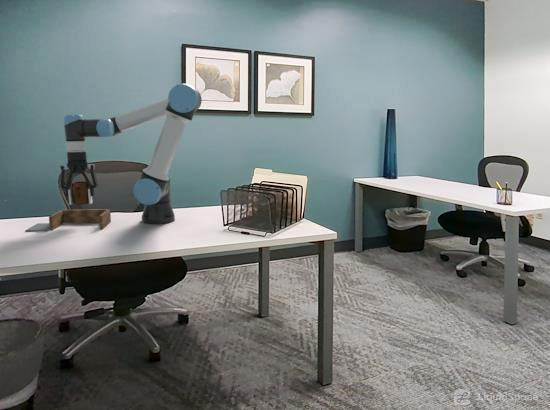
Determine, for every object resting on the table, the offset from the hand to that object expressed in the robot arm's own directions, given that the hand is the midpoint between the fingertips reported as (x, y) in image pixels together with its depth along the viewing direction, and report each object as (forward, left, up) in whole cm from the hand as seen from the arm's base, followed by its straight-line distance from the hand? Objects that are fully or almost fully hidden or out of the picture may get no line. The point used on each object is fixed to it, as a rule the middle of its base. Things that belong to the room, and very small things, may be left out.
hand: (81, 203), depth 190 cm
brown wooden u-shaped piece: (+1, 0, -10) cm, 10 cm away
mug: (0, 0, -1) cm, 1 cm away
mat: (+16, +2, -10) cm, 19 cm away
